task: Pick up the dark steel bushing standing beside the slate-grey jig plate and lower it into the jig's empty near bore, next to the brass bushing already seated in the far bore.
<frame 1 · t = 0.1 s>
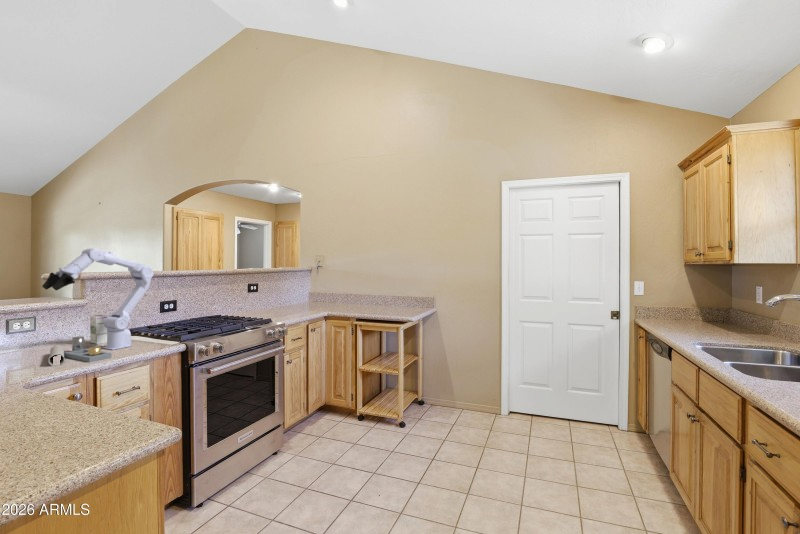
hand: (49, 288, 172), 32 cm above the worktop, tool tilted 50°, fingers open, 7 cm apart
tube: (57, 360, 175), on the worktop
syrup box: (99, 343, 209), on the worktop
jig: (87, 357, 180), on the worktop
seated bushing: (94, 358, 178), resting in jig
bushing: (78, 351, 189), on the worktop
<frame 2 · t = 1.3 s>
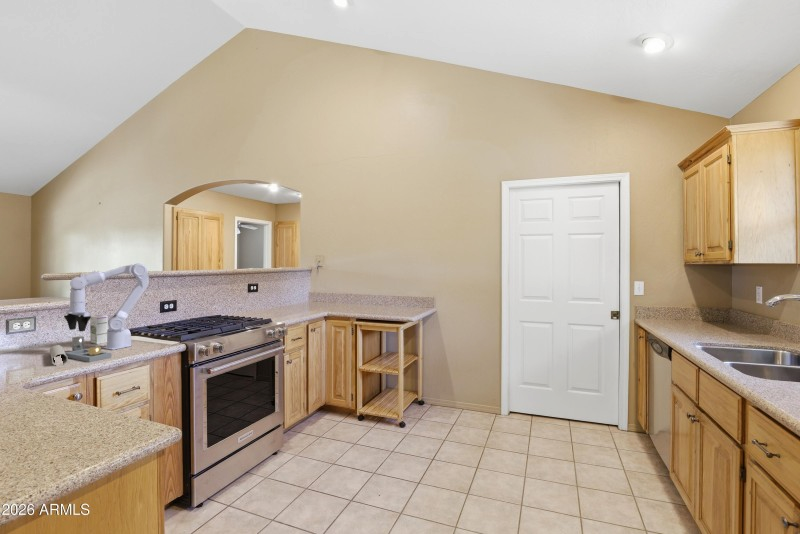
hand: (77, 330, 189), 10 cm above the worktop, tool pointing down, fingers open, 7 cm apart
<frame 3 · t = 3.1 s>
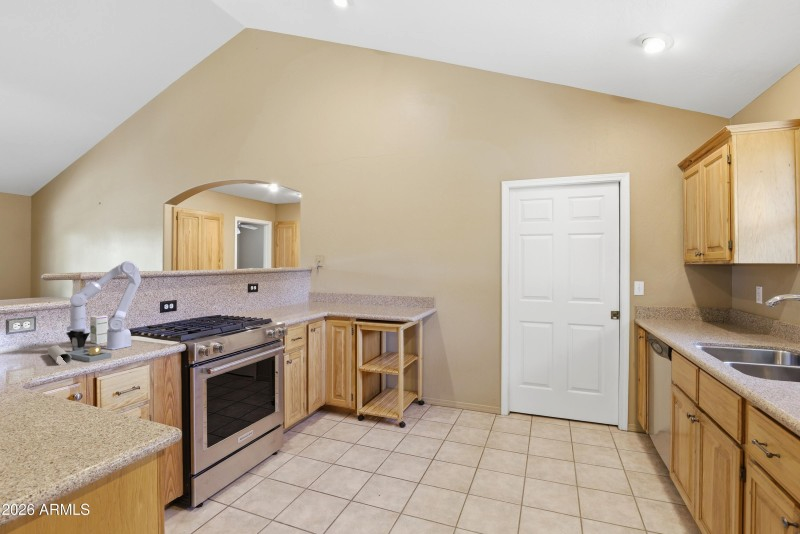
hand: (78, 346, 189), 2 cm above the worktop, tool pointing down, fingers closed on bushing, 4 cm apart
bushing: (78, 351, 189), on the worktop, touching gripper
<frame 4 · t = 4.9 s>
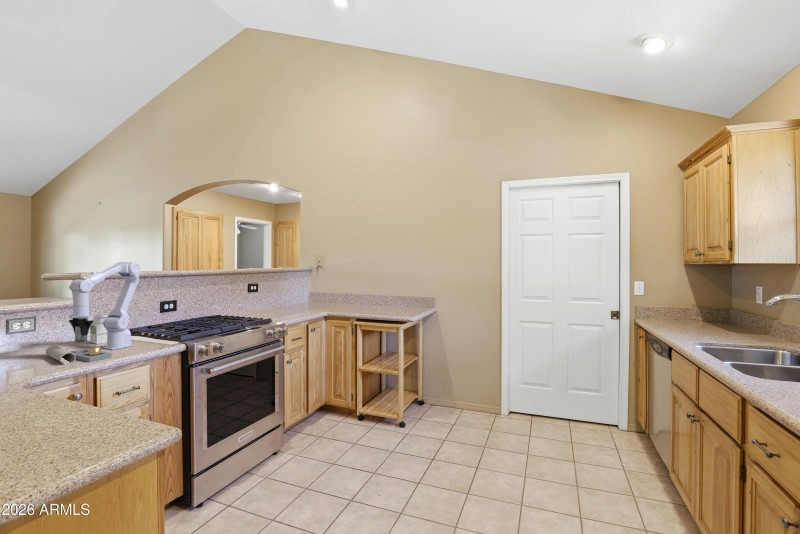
hand: (81, 334, 181), 10 cm above the worktop, tool pointing down, fingers closed on bushing, 4 cm apart
bushing: (81, 341, 181), point 7 cm above the worktop, touching gripper
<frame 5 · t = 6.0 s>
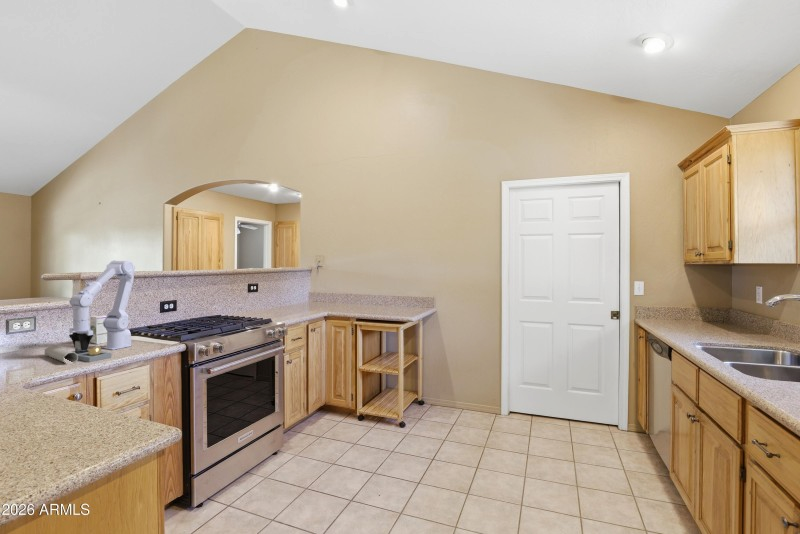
hand: (81, 349, 181), 3 cm above the worktop, tool pointing down, fingers closed on bushing, 4 cm apart
bushing: (81, 355, 182), resting in jig, touching gripper
when the fingers open (3 cm above the worktop, at t = 6.8 s): bushing stays where it is, resting in jig.
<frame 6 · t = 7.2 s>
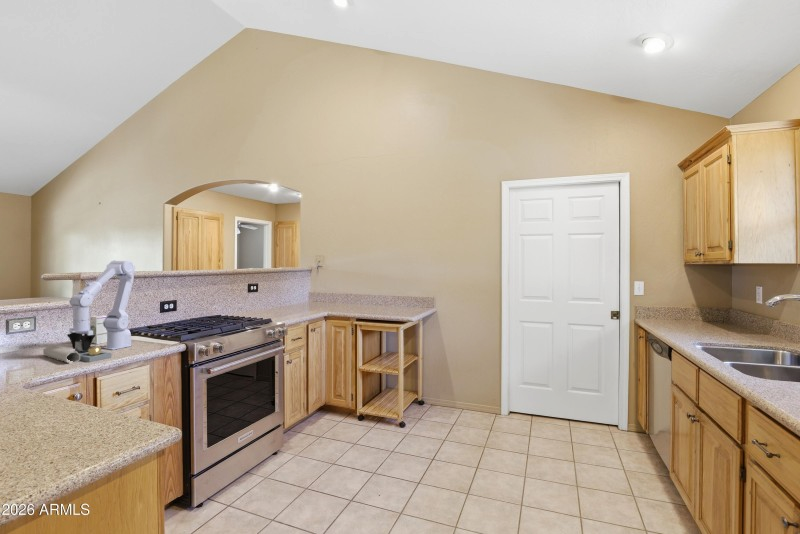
hand: (81, 349, 181), 3 cm above the worktop, tool pointing down, fingers open, 7 cm apart
bushing: (81, 356, 181), resting in jig
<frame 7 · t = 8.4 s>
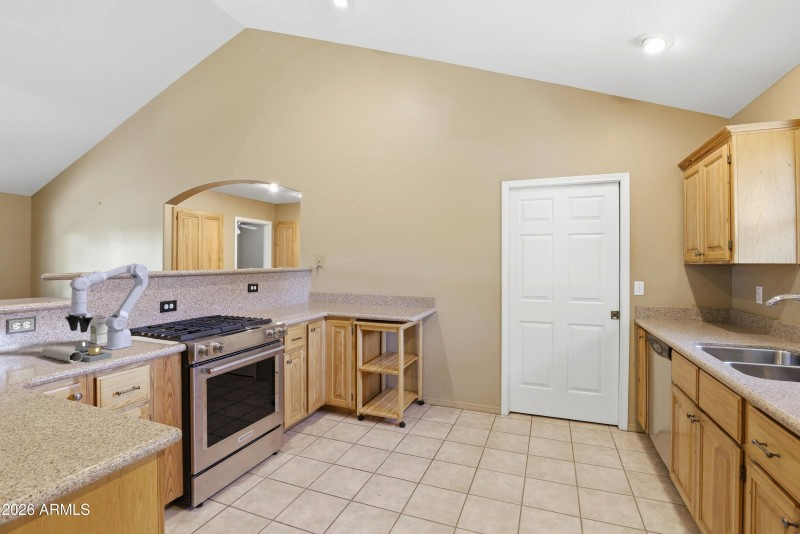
hand: (78, 331, 186), 10 cm above the worktop, tool pointing down, fingers open, 7 cm apart
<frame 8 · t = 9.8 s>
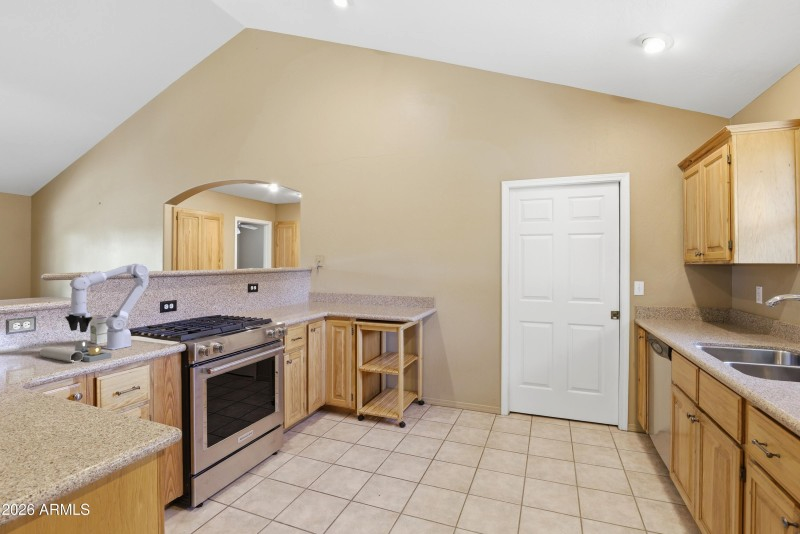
hand: (78, 331, 186), 10 cm above the worktop, tool pointing down, fingers open, 7 cm apart
at the end: bushing 0.1 cm from the target spot on the jig, point 0.0 cm above the jig's base; bushing tilted 0°; the gripper is holding nothing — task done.
